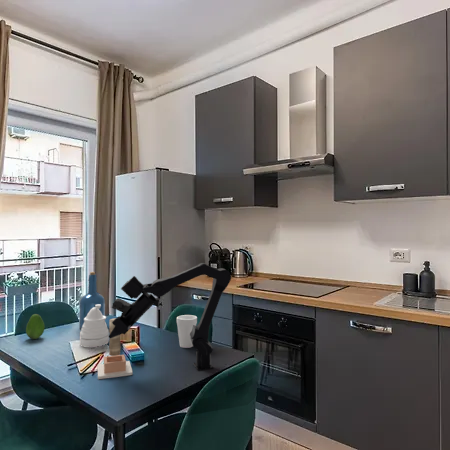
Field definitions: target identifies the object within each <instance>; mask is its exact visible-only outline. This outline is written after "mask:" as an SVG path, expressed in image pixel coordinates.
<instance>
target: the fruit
mask: <svg viewBox="0 0 450 450" xmlns="http://www.w3.org/2000/svg"><path fill="white" fill-rule="evenodd" d="M44 332H45V322H44V320H43V318H42V317H41V315H40V314H37V313H34V314H32V315H31V316H30V318H29V320H28V322H27V323H26V328H25V334H26V336H27V337H28V338H29V339H31V340H36V339H39V338H41V336H42V335H43V334H44Z"/></svg>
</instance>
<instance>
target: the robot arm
mask: <svg viewBox="0 0 450 450" xmlns="http://www.w3.org/2000/svg"><path fill="white" fill-rule="evenodd" d="M202 275H205V276H208V277H210V278H213V279H212V284H211V285H212V286H211V291H210V293H209V297H208V299H207V301H206V304H205V307H204V309H203V312H202V315H201V317H200V319H199V323H197V324H196V326H195V325H193V328H192V331H191V333H190V336H191V337H190V339H191V342H192V345H193V348H194V349H195V350H196V351H195V354H196V356H195V358H196V359H195V362H193V365H194V367H195V369H196V370H197V371H203V370H211V369H214V368H215V367H214V365H213V364H212V353H213V347H212V345H211V343H210V341H209V336H210V335H209V334H210V333H209V331H210V326H211V323H212V321H213V318H214V316H215V313H216V310H217V308H218V305H219V302H220V299H221V296H222V295H223V292H224V291H225V290H226V289H227V288H228V286H229V284H230V282H231V280H232V275H231V272H230V271H229V270H227V269H225V268H222V267H221V268H216V267H213V266H211V265H208V264H206V263H204V262H200V263H198V264H197V265H195V266H193V267H191V268H188V269H186V270H184V271H181V272H179V273H176V274H174V275H172V276H167V277H163V278H159V279H155V280H153V281H152V282H151V283H145V284H143V283H142V282H141V281H140V280H139V278H137V277H136V276H135V275H133V276H132V277H131V278H130V279H129V280H127V281H126V282H125V283H124V284H123V285H122V287H121V288H120V290H121V291H123V293H124V294H126V295H127V296H128V297H129V298H130V299H135V301H133V302H131V303H129V302H128V301H127V300H124V299H121V298H118V297H117V298H116V299H114V301H113V303H112V306H111V309H112V310H116V311H119V312H121V315H120V316H119V315H118V316H117V317H115V318H116V319H115V320H114V321H113V322H112V323H113V325H114V326H115V327H114V329H113V330H112V332H111V333H110V335H109V338H113V337H115V336H118V335H120V336H121V335H122V334H123V335H126V334H127V332H129V331H130V330H131V327H133V325H135V324H136V323H137V322H139V320H140V319H141V317H142V316H143V315H145V313H146V312H148V311H149V310H150V308H151V307H153V305H154V306H155V307H156V308H159V306H160V297H164V296H165V295H166V294H168V293H169V292H171V290H173V289H175V288H176V287H178V286H180V285H182V284H184V283H186V282H188V281H191V280H193V279H195V278H198V277H200V276H202Z"/></svg>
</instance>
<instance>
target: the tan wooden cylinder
mask: <svg viewBox="0 0 450 450" xmlns="http://www.w3.org/2000/svg"><path fill="white" fill-rule="evenodd" d="M116 318H117V317H115V318H110V319H109V326H108V327H109V328H108V330H109V335H110V333H111V332H112V330H113V329H114V327H115V326H114V325H113V323H112V322H113V321H114V320H115V319H116ZM108 343H109V345H108V346H109V347H108V348H109V349H108V350H109V351H108V353H109V354H108V356H117V355H121V334H120V335H118V336H115V337H113V338H109V342H108Z"/></svg>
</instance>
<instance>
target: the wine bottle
mask: <svg viewBox="0 0 450 450" xmlns="http://www.w3.org/2000/svg"><path fill="white" fill-rule="evenodd" d="M97 281H98V279H97V274H96V272H95V271H90V272H89V275H88V285H87V286H88V287H87V288H88V290H87V294H85V295H83V296H82V297H81V298H80V300H79V314H78V315H79V321H78V323H79V325H78V326H79V329H82V326H83V324H84V318H85V317H86V316H87V314H88V313H89V311H90V310H91V309H92V308H93V307H95V305H97V304H100V305H101V307H100V309H99V310H100V311H101V313H102V315H103V316H106V300H105V297H104V296H103V294H100V293H99V292H97V291H98V290H97V289H98V288H97Z"/></svg>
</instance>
